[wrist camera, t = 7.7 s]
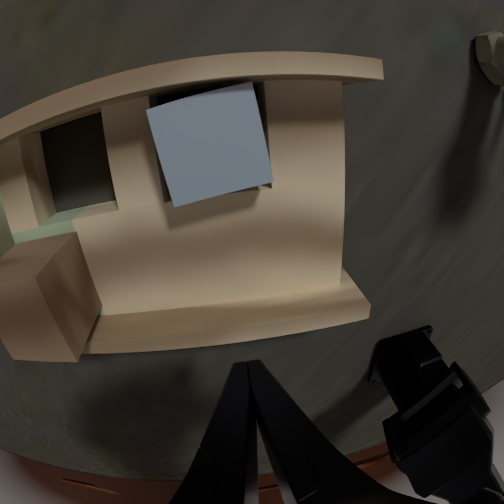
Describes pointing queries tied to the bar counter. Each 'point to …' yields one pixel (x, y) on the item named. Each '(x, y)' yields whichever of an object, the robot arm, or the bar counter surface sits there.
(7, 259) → the walnut block
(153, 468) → the bar counter surface
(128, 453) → the bar counter surface
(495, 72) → the grenade model
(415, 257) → the bar counter surface
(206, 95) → the trapped block
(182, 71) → the box
